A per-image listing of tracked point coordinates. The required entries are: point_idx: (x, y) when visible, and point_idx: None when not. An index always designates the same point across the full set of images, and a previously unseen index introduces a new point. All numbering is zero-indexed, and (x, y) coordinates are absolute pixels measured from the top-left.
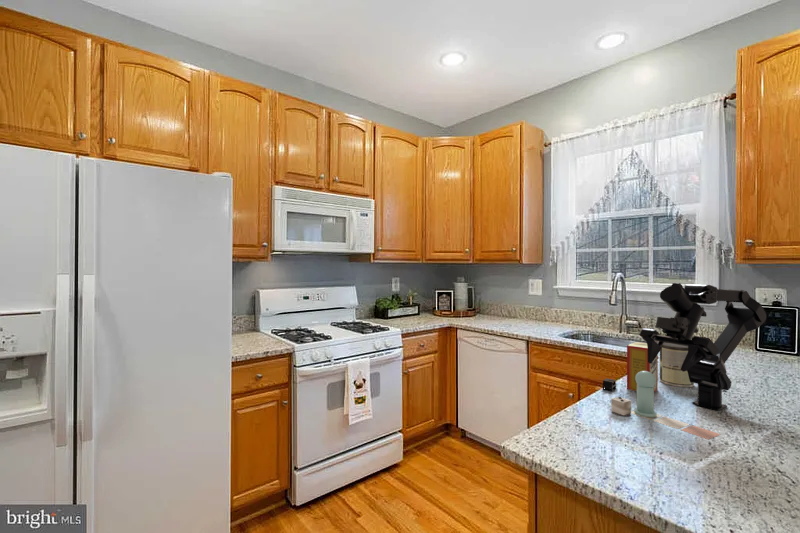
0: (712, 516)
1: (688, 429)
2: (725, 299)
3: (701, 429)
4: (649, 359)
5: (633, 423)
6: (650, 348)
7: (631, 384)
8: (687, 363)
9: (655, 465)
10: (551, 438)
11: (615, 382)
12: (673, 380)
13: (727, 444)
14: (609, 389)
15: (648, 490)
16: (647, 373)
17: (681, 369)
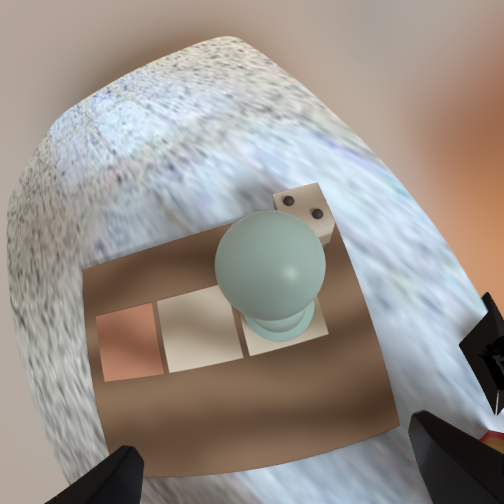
0: (46, 143)
1: (145, 328)
2: None
3: (135, 366)
4: (424, 425)
5: None
6: (502, 483)
7: (495, 444)
8: (83, 482)
9: (105, 147)
10: (230, 66)
11: None
12: None
13: (87, 355)
14: (494, 350)
15: (89, 113)
16: (236, 235)
17: (128, 446)
